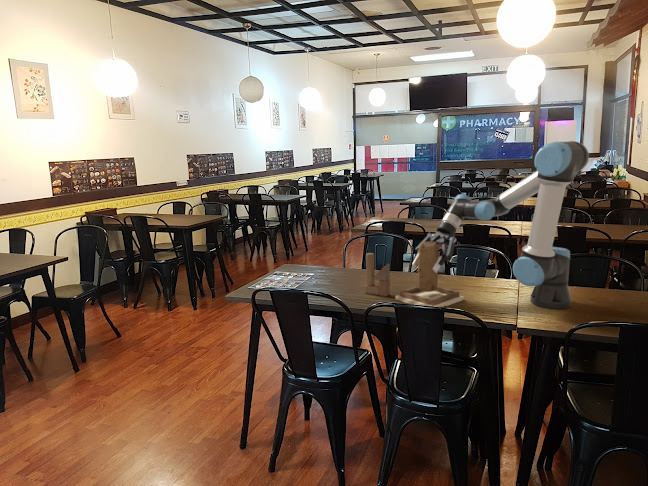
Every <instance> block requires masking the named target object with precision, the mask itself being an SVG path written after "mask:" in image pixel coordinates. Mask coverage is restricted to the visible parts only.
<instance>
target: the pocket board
mask: <svg viewBox="0 0 648 486" xmlns="http://www.w3.org/2000/svg"><path fill="white" fill-rule="evenodd" d="M464 297H465V296H462V295H460V292H459V291H457V290H453V289H449V288H445V287H441V286H438V285H437V289H436V290H435V291H431V292H426V291H421V290H419V288H418V286H414V287H410V288H408V289H405V290H400V291H399V294H398V295H395V300H396V301H399V302H403V303H405V304H409V305H412V304H414V305H413V306H415V305H423V306H434V307H443V308H445V307H444V306H446V307H448V306H450V305H453V304H456V303H459V302H462V301H464V300H465V299H464Z"/></svg>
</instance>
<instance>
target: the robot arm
mask: <svg viewBox="0 0 648 486" xmlns="http://www.w3.org/2000/svg"><path fill="white" fill-rule="evenodd" d="M589 158H590V154H589V151H588V148H587V147H586V146H585V145H584V144H582V143H581V142H578V141H574V140H571V141H552V142H549V143H546V144H545V145H543V146H541V147H540V148H539V150H538V151H536V153H535V156H534V167H535V168H536V170H535V171H534V172H532V173H531V174H530V175H528V176H526V177H524V178H523V179H522V180H520V181H518V183H516V184H513V186H511V187H509V188H508V189H506V190H505V191H503V192H502V193H500V194H499V195H497V196H495V197H494V198H490V199H485V200H473V199H472V198H471V197H470V196H468V195H466V194H462V193H461V194H457V195H456V196H455V197H454V199H453V200H452V202H451V204H450V206H449V208H448V209H447V211H446V213H445V214H444V216H443V218H442V219H441V222H440V223H439V224H438V227H436V232H435V233H431V232H428V233H427V235H426V237H424V239H423V240H422V241H421V242H420V243H419V244H418V245H417V246H416V247H415V251H416V252H417V253H416V255H415V256H414V260H413V262H412V263H411V265H412V266H413V267H414V268H415V269H416V268H418V255H419V246H420V244H421V243H422V242H429V241H432V242H436V243H437V246H439V245H440V246H441V255H439V256H438V260H437V262H436V263H435V265H434V267H433V270H434V271H435V273H437V272H438V273H439V269H440V268H441V266H443V265H444V264H445V262H446V260H448V259H449V260H451V259H452V257H453V254H454V251H455V250H454V249H455V245H456V243H457V242H458V240H457V238H456V237H455V234H456V232H457V230H458V229H459V227H460V225H461V223H462V222H463V221H464V219H471V220H472V219H473V220H480V221H490V220H492V218H494V217H500V216H503V215H506V214H508V213H509V212H510V211H511V209H513V208H514V207H516V206H518V205H519V204H521V203H522V202H524V201H526V200H527V199H530V198H532V197H533V196H534V195H536V194H537V197H536V202H535V207H534V213H533V216H532V222H531V225H530V231H529V234H528V240H527V244H525V245H524V246H522V248H521V253H520V257H518V258H517V259H515V261H514V263H513V266H512V272H513V275H514V277H515V278H516V280H517V282H518V283H520V284H522V285H523V286H525V287H533V289H532V292H531V294H530V303H532V304H533V305H535V306H537V307H542V308H547V309H566V308H570V307H571V306H572V301H573V300H572V297H571V293H570V289H569V275H570V261H571V251H570V250H569V249H567V248H564V247H560V246H559V247H558V246H554V245H553V244H554V241H555V236H556V233H557V232H556V231H557V227H558V223H559V218H560V214H561V210H562V204H563V202H564V198H565V193H566V187H567V186H568V185H570V184H572V182H573V178H574V175H576V174H577V173H579V172H581V171H582V170H583V169H585V168H586V166H587V165H588V162H589Z"/></svg>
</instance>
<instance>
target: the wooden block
mask: <svg viewBox="0 0 648 486" xmlns="http://www.w3.org/2000/svg"><path fill="white" fill-rule="evenodd" d="M365 256H366V257H365V261H366V263H365V266H366V269H365V270H366V271H365V274H366V277H365V278H366V279H365V280H366V281H365V282H366V284H365V285H364V294H368V295H369V294H370V295H374V296H380V297H388V296H389V295H390V293H391V290H390V289H391V288H390V285H391V283H390V282H391V281H390V279H391V278H390V277H391V276H390V275H391V273H390V271H391V268H390V267H391V266H390V264H391V263H387V264H386V265H384V266H383V267H382V268H381V269H380V270H379V271H378V272H377V273H376V274H375V253H373V252H367V253H366V254H365ZM375 280H378V282H379V283H378V284H375Z"/></svg>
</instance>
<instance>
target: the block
mask: <svg viewBox="0 0 648 486" xmlns="http://www.w3.org/2000/svg"><path fill="white" fill-rule="evenodd" d="M421 242H422V241H421ZM421 242H420V243H421ZM420 243H419V244H420ZM438 258H439V256H438V245H437V243H436V242H434V241H433V242H432V241H429V242H422V243H421V244H420V246H419V255H418V266H417V281H418V282H417V285H418V288H419V290H421V291H426V292H431V291H435V290H436V289H437V286H438V280H439V279H438V278H439V271H438V272H437V273H435V271H434V270H433V267H434V265H435V263H436V262H437V260H438Z"/></svg>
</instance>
